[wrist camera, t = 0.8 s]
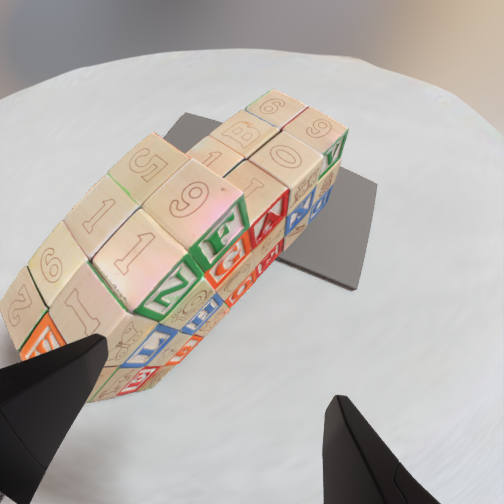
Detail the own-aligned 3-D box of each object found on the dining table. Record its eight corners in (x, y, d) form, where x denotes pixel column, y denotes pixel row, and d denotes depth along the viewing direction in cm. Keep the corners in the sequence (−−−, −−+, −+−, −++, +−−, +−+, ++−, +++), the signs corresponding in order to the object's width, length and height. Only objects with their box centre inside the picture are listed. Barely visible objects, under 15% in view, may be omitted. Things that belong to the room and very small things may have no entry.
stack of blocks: (274, 165, 26) (274, 51, 14) (328, 203, 24) (364, 92, 12) (105, 334, 21) (-7, 304, 9) (152, 391, 19) (45, 411, 8)
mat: (355, 289, 25) (357, 288, 24) (123, 196, 26) (122, 193, 25) (375, 185, 30) (377, 184, 29) (185, 114, 31) (185, 112, 30)
